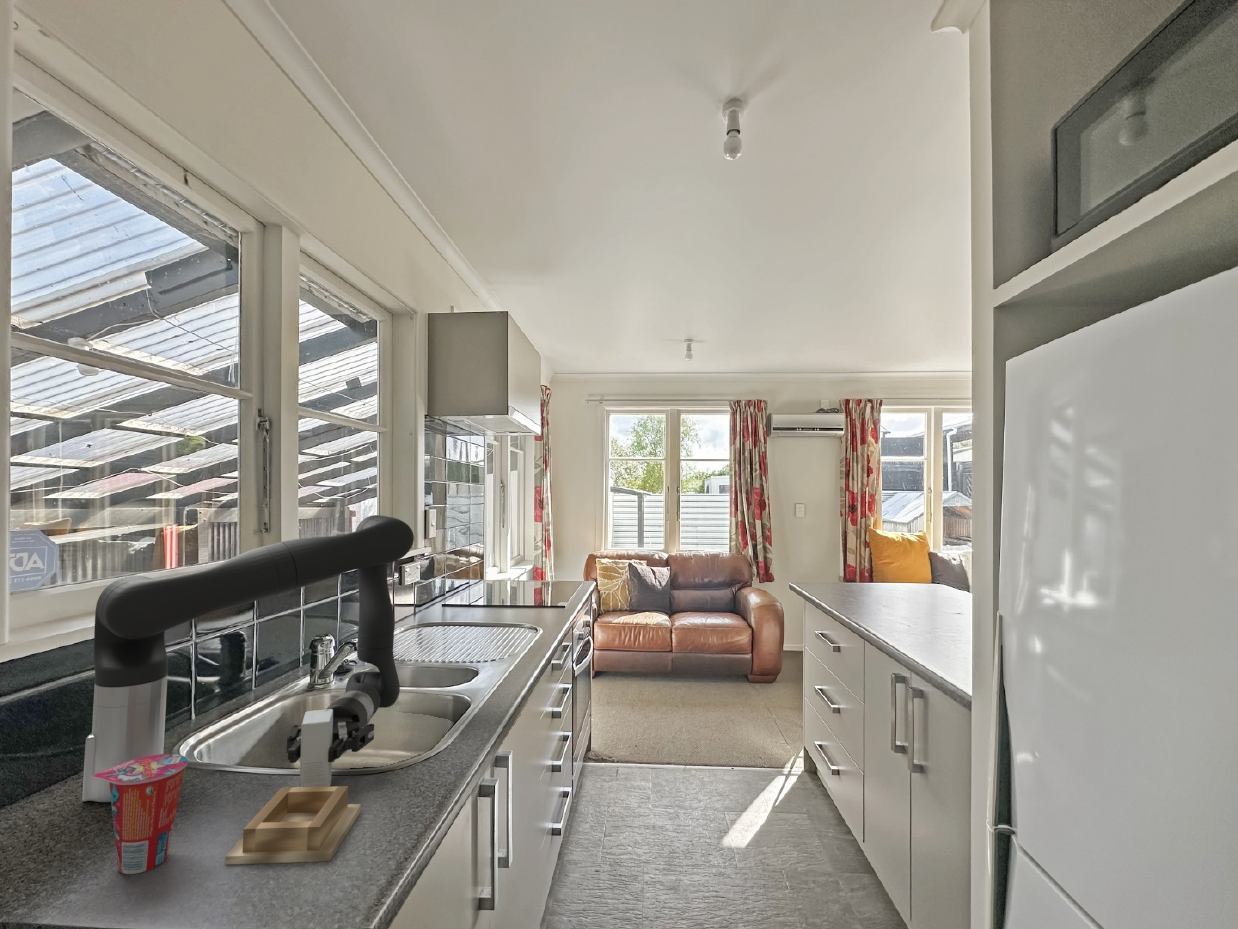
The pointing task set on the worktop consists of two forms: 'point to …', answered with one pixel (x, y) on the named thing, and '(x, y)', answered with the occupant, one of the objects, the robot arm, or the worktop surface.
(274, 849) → the socket holder
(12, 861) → the worktop surface
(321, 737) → the skincare box
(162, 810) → the cup
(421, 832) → the worktop surface
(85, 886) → the worktop surface
